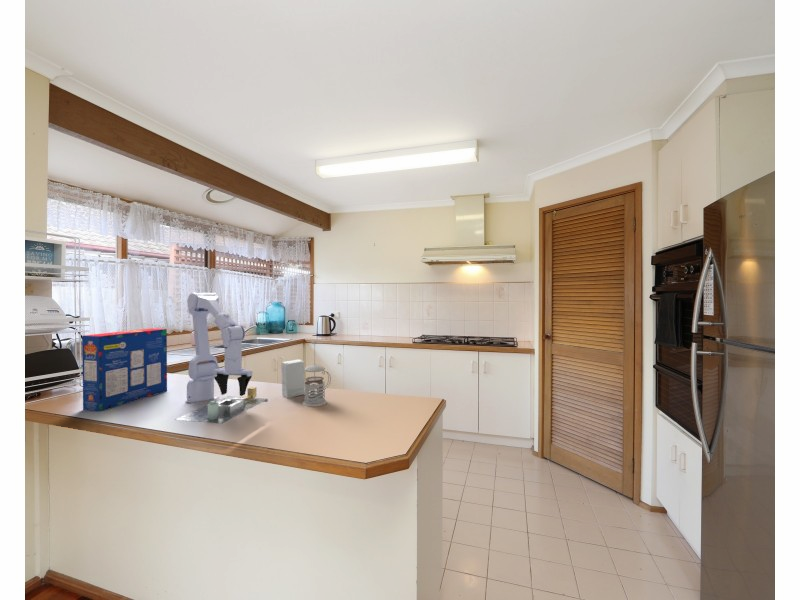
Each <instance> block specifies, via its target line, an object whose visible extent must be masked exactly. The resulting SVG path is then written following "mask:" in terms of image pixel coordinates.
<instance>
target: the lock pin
mask: <svg viewBox="0 0 800 600" xmlns="http://www.w3.org/2000/svg"><path fill="white" fill-rule="evenodd" d="M243 397H244V396H243ZM244 398H245V402H246V401H248V400H250V399H253V398H257V386H250V387H247V395H246V396H245V397H244Z"/></svg>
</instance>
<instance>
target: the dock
mask: <svg viewBox="0 0 800 600" xmlns="http://www.w3.org/2000/svg"><path fill="white" fill-rule="evenodd" d="M215 401H216V402H217V403H218V419H215V420H208V404H207V405H205V406H202V407H200V408H197V409H195V410H193V411H191V412H188V413H186V414H184V415H182V416H179V417H176V418H175V419H174V421H175V420H176V421H186V422H187V421H188V422H199V423H212V424H223V423H225V422H227V421H229V420H230V419H233V418H235V417H237V416H238V415H240V414H242V413H244V412H246V411H248V410H249V409H252V408H253V407H255V406H257V405H259V404H261V403H262V402H263V403H264V402H265V403H267V402H268V398H259V397H255V398H253V399H250V400H248V401H246V402H245V398H244V396H229V395H228V396H226V397H223V398H221V399H219V400H218V399H217V400H215Z"/></svg>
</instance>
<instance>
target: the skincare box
mask: <svg viewBox="0 0 800 600" xmlns="http://www.w3.org/2000/svg"><path fill="white" fill-rule="evenodd" d="M304 369H305V361H303V359H299V358H298V359H292V360H286V361H281V395H282V396H283V397H285V398H286V399H289V398H294V397H298V396H303V395H304V396H305V370H304Z"/></svg>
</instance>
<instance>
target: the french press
mask: <svg viewBox="0 0 800 600" xmlns="http://www.w3.org/2000/svg"><path fill="white" fill-rule="evenodd" d="M317 344H318V342H317V340H312V344H311V345H314V346H313V347H314V350H313V351H314V357H313V358H314V359H313V360H314V364H311V365H308V366H306V367H304V372H308V373H314V374H313V375H314V376H309V377H306V378H304V386H305V394H304V401H302V403H301V404H302V406H304V407H320V406H324V405H325V404H327V402H328V401H327V400H326V398H325V397H326V395H325V394H326V392H325V390H326V389H327V388H329V386H330V385H331V380H332V377H331V374H330V373H329V372H328V371H326V370H325V369H326V368H325V367H324V366H323V365H320V364H317V363H316V345H317ZM318 372H321V373H322V375H325V374H327V377H328V380H327V383H326V384H325V382H324V377H323V376H318V375H317V376H316V373H318Z"/></svg>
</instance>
